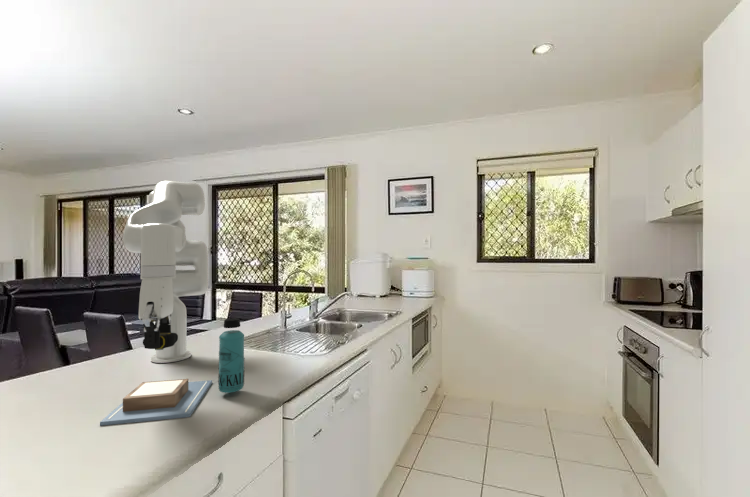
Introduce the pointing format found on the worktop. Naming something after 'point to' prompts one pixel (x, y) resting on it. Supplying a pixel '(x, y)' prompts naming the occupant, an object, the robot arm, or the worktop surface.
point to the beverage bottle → (231, 358)
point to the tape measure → (166, 340)
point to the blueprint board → (161, 412)
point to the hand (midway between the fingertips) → (158, 343)
